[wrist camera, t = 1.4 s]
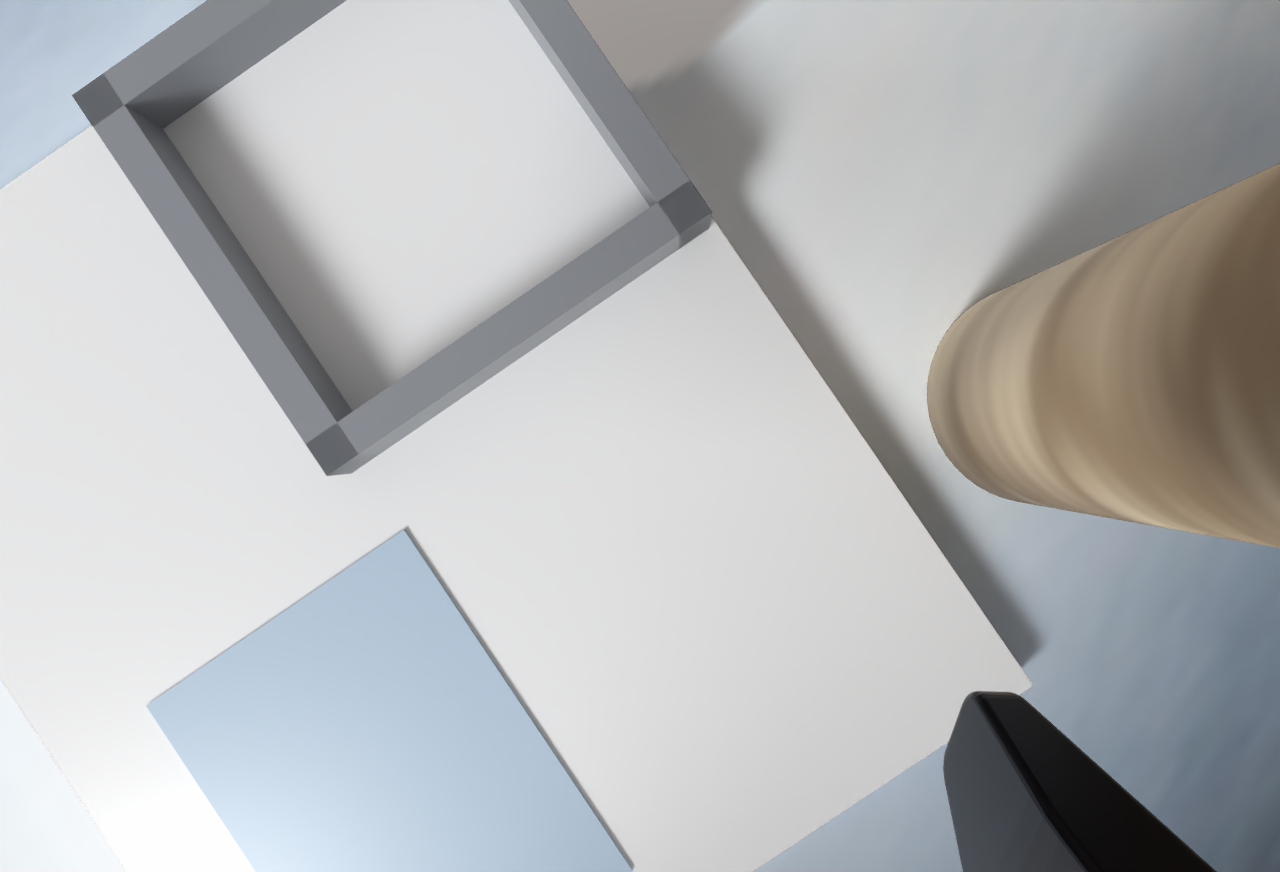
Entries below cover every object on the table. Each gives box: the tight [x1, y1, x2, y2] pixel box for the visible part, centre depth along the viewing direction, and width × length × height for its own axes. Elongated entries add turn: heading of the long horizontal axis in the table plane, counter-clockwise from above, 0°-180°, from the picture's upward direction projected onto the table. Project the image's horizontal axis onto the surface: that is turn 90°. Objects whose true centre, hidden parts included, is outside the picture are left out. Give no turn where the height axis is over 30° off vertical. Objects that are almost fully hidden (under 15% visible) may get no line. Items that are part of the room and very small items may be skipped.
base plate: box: [0, 0, 1033, 872], centre depth 21 cm, size 22×19×2 cm
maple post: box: [927, 163, 1280, 548], centre depth 15 cm, size 5×5×13 cm
